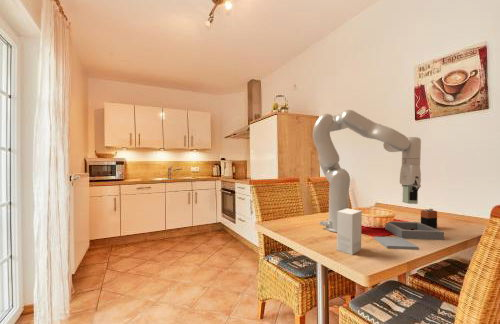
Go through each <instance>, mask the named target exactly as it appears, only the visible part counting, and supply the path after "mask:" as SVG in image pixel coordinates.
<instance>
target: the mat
mask: <svg viewBox="0 0 500 324" xmlns="http://www.w3.org/2000/svg"><path fill="white" fill-rule="evenodd" d="M373 239H374V240H375V241H376V242H378V243H379V244H381V245H382V246H383V247H385V248H386V249H398V250H399V249H400V250H420V249H419V248H420V247H419V246H418V245H416V244H414V243H412V242H411V241H409V240H408V239H405V238H402V237H398V236H395V237H394V236H373Z"/></svg>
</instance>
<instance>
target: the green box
mask: <svg viewBox="0 0 500 324" xmlns="http://www.w3.org/2000/svg"><path fill="white" fill-rule="evenodd" d="M413 188H414V187H413ZM410 192H411V191H410V186H403V187H402V203H405V204H408V205H409V204H410V205H411V204H413V205H418V203H419V202H418V199H419V194H418V193H419V191H418V192H417V200H416V201H415V200H409V195H410Z"/></svg>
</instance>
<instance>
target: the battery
mask: <svg viewBox="0 0 500 324" xmlns="http://www.w3.org/2000/svg"><path fill="white" fill-rule="evenodd" d="M420 223H422V224H425V225H427V226H430V227H432V228H435V229H437V228H438V211H437V210H434V208H428V209H427V208H424V209H421V210H420Z"/></svg>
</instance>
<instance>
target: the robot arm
mask: <svg viewBox="0 0 500 324" xmlns="http://www.w3.org/2000/svg"><path fill="white" fill-rule="evenodd" d="M344 129H349V130H351V131H353V132H355V133H356V134H358V135H360V136H362V137H363V138H367V139H369V140H370V139H371V140H376V141H380V142H382V143H383V148H384V150H385V151H387V152H388V153H398V152H401V167H400V171H399V184H400V185H401V187H402V188H403V186H410V191H411V192H410V195H409V200H415V201H416V200H417V192H418V193H419V189H420V188H421V187H422V185H421V182H422V177H421V176H422V173H421V156H422V155H421V151H422V150H421V148H422V147H421V146H422V141H421V140H422V139H421V138H420V137H418V136H408V137H407V136H406V135H405V134H403V133H401V132H400V131H398V130H395V129H394V128H391V127H389V126H386V125H382V124H381V123H377V122H374V121H373V120H371V119H369V118H367V117H366V116H364V115H362V114H360V113H359V112H357V111H354V110H353V109H345V110H344V111H342V112H341V113H340V114H336V115H332V114H330V113H323V114H322V115H320V116H319V117H318V119H316V121H315V123H314V125H313V130H312V140H313V143H314V146H315V148H316V151H317V153H318V157H317V159H318V164H319V166H320V168H321V170H322V173H323V174H324V176H325V179H326V181H328V183H329V188H328V189H329V190H328V219H327V218H326V219H327V220H319V221H318V223H319V225H320V226H324V227H325V230H327V231H329V232H333V233H337V216H338V212H337V211H340V210H344V209H347V208H348V209H350V208H349V207H350V206H349V204H350V202H349V200H350V198H349V197H350V195H349V194H350V185H351V177H350V173H349V172H348V171H347V170H346V169H345V168H342V167H341V166H340V163H339V162H340V156H339V153H338V150H337V149H336V147H335V145H334V143H333V139H332V138H331V132H335V131H341V130H344ZM413 187H414V188H413Z"/></svg>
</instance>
